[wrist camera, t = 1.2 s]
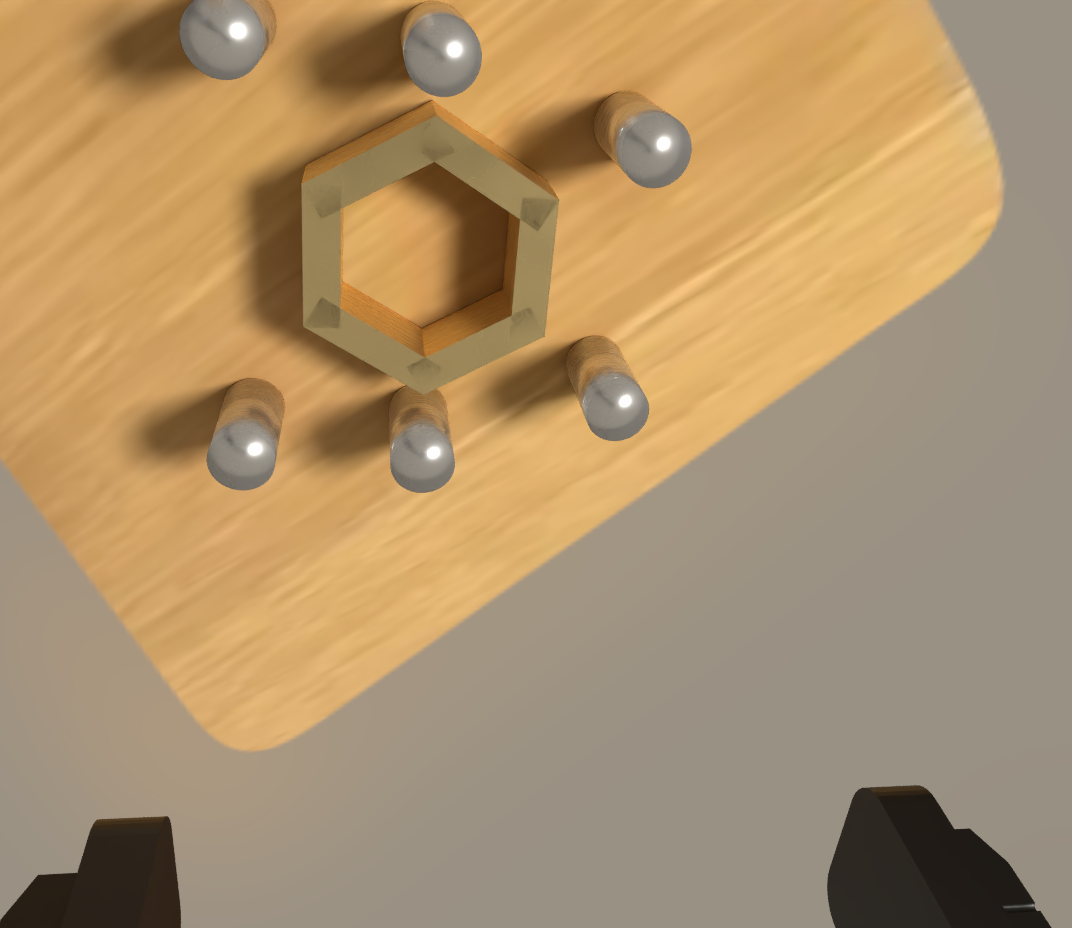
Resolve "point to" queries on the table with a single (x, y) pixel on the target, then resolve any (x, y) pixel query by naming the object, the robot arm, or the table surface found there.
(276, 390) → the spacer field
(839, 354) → the table surface
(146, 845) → the robot arm
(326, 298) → the tan hexagonal ring
